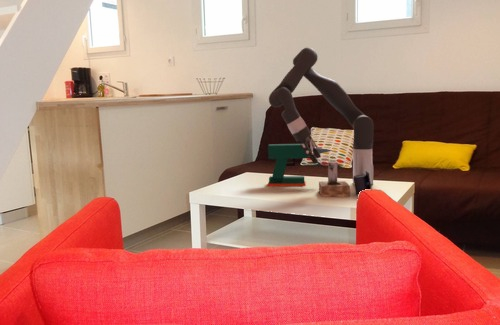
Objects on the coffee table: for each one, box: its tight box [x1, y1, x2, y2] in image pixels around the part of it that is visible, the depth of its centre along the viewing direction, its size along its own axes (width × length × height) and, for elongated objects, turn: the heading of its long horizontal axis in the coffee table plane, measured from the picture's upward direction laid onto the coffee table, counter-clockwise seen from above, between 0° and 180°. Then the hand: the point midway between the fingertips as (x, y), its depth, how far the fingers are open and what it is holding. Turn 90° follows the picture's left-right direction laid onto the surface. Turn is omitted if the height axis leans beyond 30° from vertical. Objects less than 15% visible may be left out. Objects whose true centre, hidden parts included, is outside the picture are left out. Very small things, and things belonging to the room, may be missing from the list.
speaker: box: [352, 171, 372, 196], centre depth 202 cm, size 8×6×10 cm
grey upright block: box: [327, 161, 338, 185], centre depth 205 cm, size 7×4×13 cm, turn 159°
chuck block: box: [318, 180, 351, 198], centre depth 205 cm, size 12×12×4 cm
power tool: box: [267, 143, 333, 187], centre depth 228 cm, size 32×7×20 cm, turn 84°
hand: (317, 160), depth 208 cm, fingers open, 8 cm apart
